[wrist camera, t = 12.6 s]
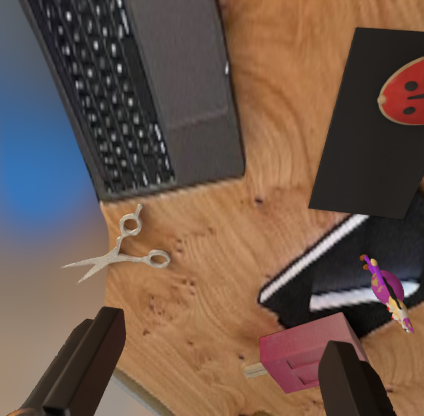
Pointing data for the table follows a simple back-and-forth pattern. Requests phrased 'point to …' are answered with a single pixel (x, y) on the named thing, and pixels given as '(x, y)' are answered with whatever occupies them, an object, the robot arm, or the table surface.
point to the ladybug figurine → (404, 95)
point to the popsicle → (302, 352)
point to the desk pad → (371, 133)
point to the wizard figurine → (388, 292)
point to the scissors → (116, 256)
